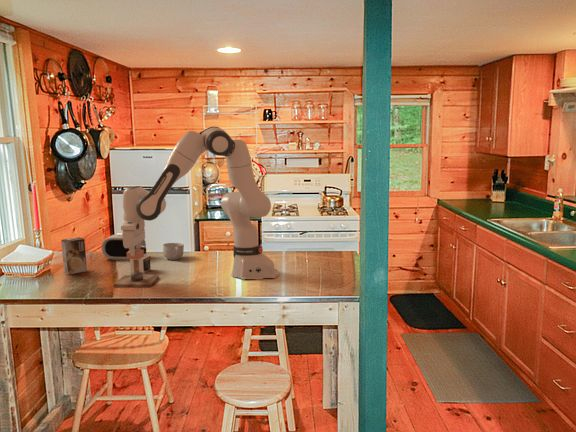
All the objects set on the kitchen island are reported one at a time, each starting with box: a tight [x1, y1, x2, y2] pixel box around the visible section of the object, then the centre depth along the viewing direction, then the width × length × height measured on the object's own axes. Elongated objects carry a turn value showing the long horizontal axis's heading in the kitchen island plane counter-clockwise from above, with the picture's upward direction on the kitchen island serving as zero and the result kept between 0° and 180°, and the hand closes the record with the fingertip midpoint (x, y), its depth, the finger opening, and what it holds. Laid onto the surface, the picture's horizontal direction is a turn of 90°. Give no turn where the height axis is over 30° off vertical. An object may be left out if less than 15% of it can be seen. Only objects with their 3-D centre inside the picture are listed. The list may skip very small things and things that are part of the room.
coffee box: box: [61, 236, 88, 275], centre depth 241 cm, size 9×6×16 cm
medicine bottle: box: [129, 246, 152, 274], centre depth 243 cm, size 7×7×12 cm
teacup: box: [162, 242, 185, 261], centre depth 266 cm, size 14×11×8 cm
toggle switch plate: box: [113, 260, 160, 288], centre depth 225 cm, size 16×14×10 cm
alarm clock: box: [101, 232, 147, 261], centre depth 267 cm, size 21×10×13 cm, turn 88°
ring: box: [127, 250, 144, 259], centre depth 223 cm, size 6×6×3 cm
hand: (135, 253), depth 223 cm, fingers closed on ring, 6 cm apart
